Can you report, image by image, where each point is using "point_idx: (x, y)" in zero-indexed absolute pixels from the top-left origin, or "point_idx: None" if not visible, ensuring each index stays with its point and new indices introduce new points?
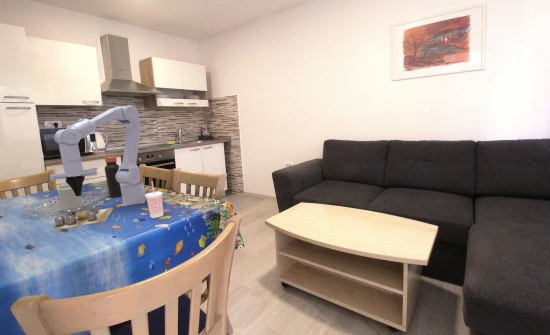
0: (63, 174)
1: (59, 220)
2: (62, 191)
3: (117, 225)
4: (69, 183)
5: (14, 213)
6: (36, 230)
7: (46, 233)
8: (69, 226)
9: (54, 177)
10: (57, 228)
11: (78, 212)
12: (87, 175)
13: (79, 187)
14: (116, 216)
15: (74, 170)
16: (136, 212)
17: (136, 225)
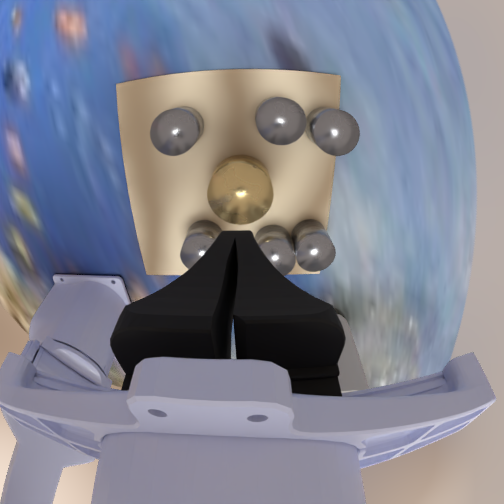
0: (381, 431)
1: (329, 109)
2: (353, 384)
3: (70, 36)
4: (289, 296)
5: (440, 351)
6: (407, 144)
7: (362, 70)
8: (276, 79)
9: (456, 388)
10: (327, 83)
11: (259, 199)
12: (85, 390)
13: (194, 265)
14: (96, 154)
15: (143, 497)
16: (39, 176)
17: (20, 28)
